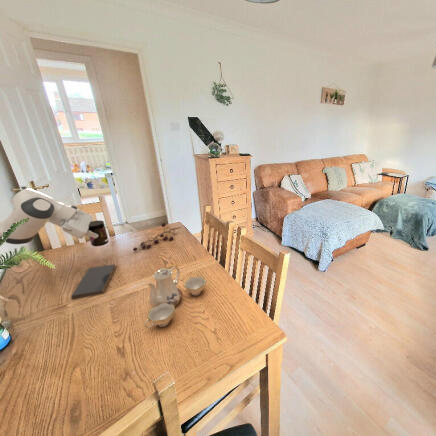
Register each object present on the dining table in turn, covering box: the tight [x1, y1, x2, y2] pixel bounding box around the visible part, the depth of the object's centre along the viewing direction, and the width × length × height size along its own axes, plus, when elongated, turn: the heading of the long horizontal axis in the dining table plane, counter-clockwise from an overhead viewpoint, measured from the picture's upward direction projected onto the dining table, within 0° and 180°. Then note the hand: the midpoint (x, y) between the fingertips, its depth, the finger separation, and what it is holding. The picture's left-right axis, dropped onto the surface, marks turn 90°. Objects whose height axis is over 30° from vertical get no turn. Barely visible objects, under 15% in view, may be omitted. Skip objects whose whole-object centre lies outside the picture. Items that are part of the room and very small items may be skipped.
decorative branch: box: [132, 222, 182, 252], centre depth 138 cm, size 11×9×30 cm
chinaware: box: [144, 266, 207, 329], centre depth 91 cm, size 28×17×17 cm, turn 167°
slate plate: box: [71, 263, 116, 300], centre depth 104 cm, size 10×20×2 cm, turn 22°
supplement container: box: [88, 220, 109, 247], centre depth 111 cm, size 7×7×10 cm
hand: (99, 232), depth 111 cm, fingers closed on supplement container, 6 cm apart
